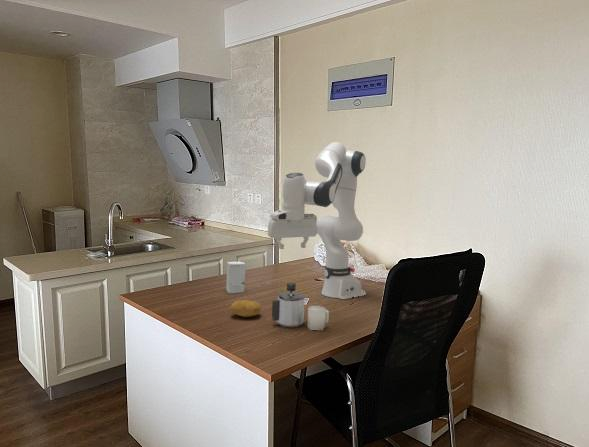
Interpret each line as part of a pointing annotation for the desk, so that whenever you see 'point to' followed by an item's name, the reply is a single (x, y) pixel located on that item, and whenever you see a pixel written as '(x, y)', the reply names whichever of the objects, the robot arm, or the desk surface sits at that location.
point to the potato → (246, 308)
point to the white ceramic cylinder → (317, 317)
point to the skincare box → (235, 277)
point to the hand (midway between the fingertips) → (292, 248)
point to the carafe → (288, 309)
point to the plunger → (291, 288)
